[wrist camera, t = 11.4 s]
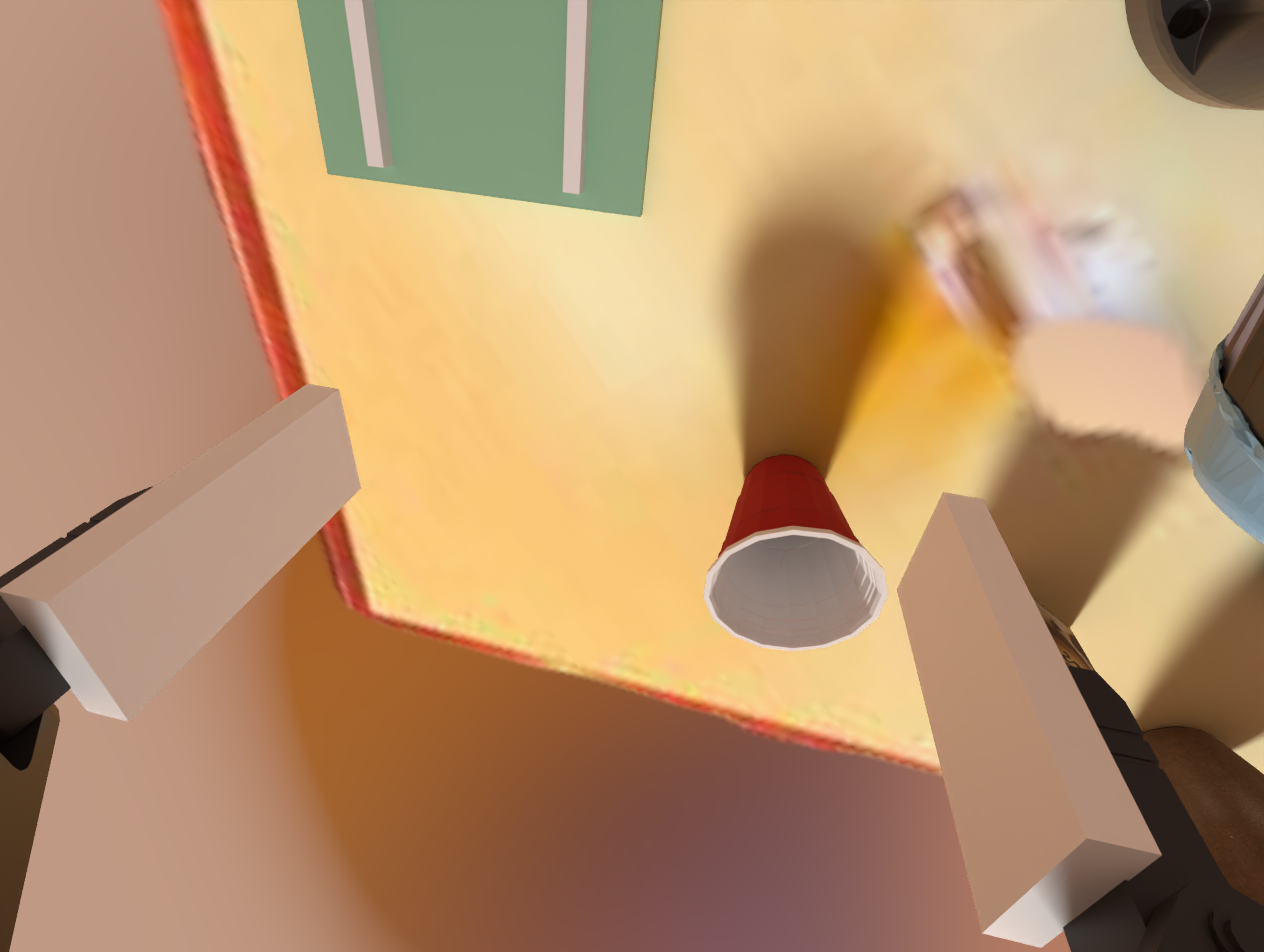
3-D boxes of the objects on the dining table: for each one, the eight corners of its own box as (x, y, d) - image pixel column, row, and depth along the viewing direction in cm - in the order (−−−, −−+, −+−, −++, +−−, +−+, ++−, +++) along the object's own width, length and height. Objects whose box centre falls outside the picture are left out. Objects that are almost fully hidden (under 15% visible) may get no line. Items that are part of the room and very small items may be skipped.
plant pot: (1160, 676, 50) (1307, 891, 36) (1321, 733, 50) (1523, 966, 37) (1038, 764, 58) (1121, 963, 45) (1176, 812, 59) (1299, 1023, 45)
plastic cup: (748, 558, 50) (748, 676, 40) (688, 459, 45) (671, 564, 36) (879, 517, 45) (915, 637, 36) (827, 402, 41) (851, 504, 31)
